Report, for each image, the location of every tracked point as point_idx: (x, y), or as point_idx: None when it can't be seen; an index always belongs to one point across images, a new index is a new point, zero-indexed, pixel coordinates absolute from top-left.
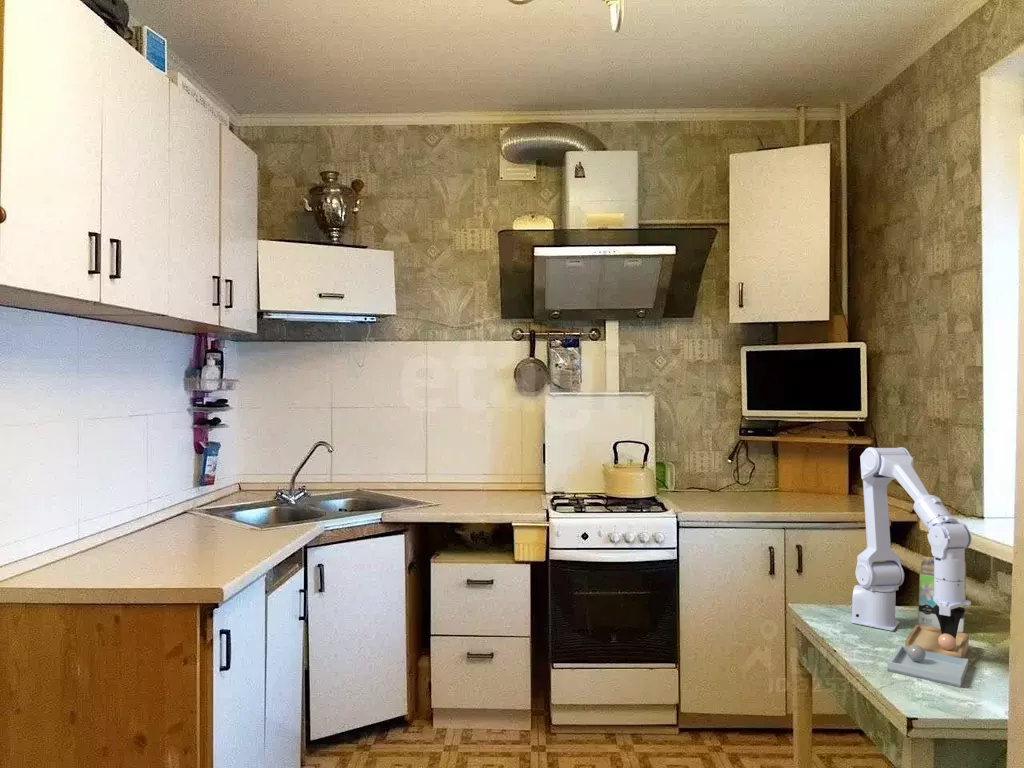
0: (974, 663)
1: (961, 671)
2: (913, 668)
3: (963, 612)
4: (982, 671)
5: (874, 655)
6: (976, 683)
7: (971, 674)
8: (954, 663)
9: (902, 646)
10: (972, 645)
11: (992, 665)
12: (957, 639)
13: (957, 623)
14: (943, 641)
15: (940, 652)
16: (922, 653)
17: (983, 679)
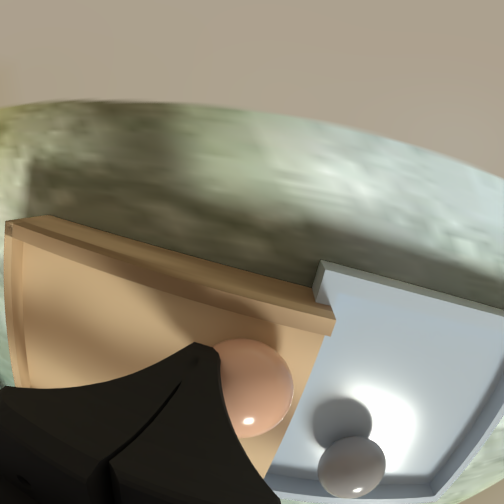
0: (235, 216)
1: (499, 322)
2: (476, 452)
3: (160, 499)
4: (345, 200)
5: None
6: (492, 258)
7: (407, 259)
8: None
9: None
10: (17, 196)
11: (226, 136)
12: (57, 276)
13: (238, 441)
14: (283, 417)
15: (299, 393)
16: (384, 460)
17: (447, 219)
